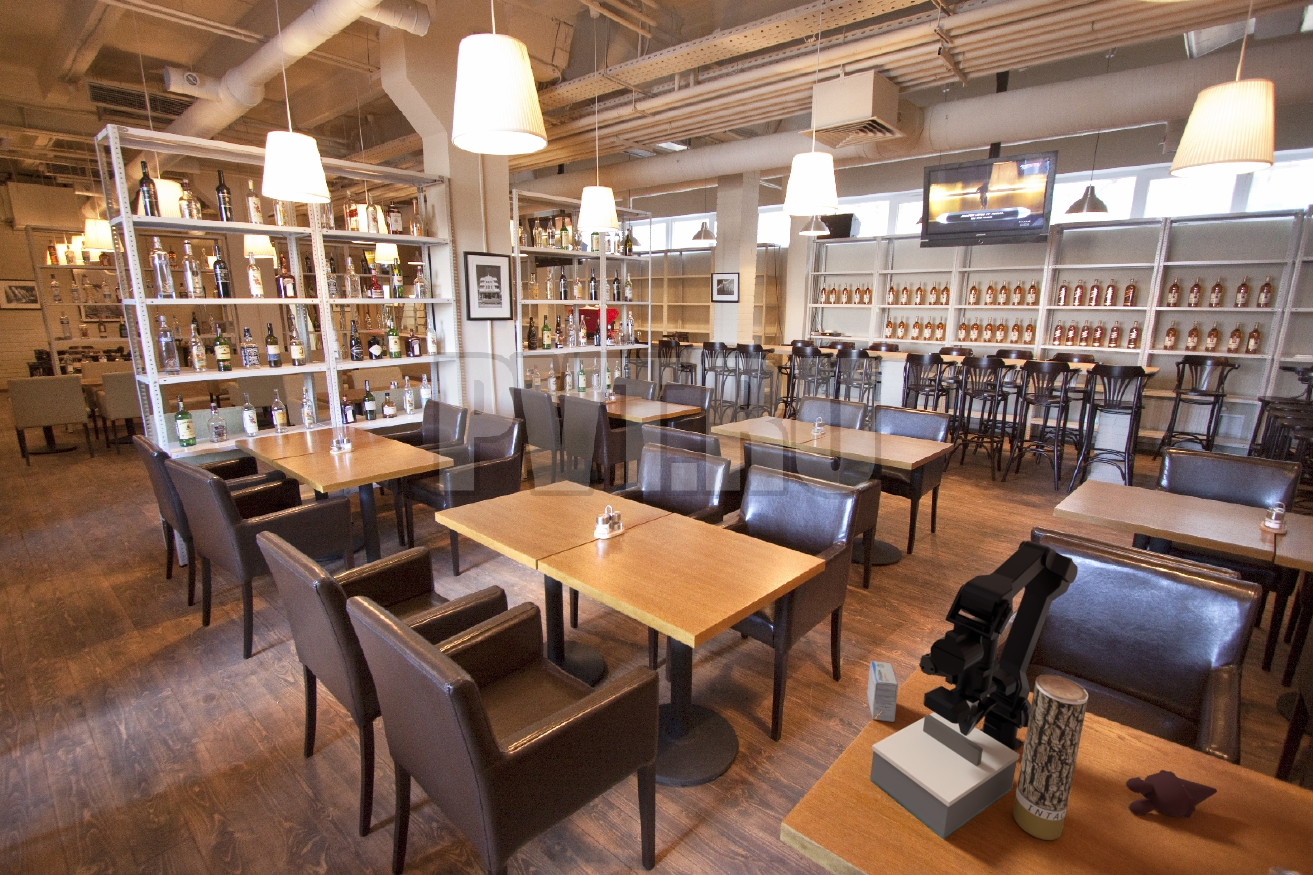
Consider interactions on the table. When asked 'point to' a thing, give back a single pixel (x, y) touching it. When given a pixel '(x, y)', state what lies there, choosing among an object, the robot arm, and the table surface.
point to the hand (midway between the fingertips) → (964, 733)
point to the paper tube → (1049, 755)
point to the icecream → (1167, 794)
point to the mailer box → (932, 808)
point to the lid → (945, 757)
